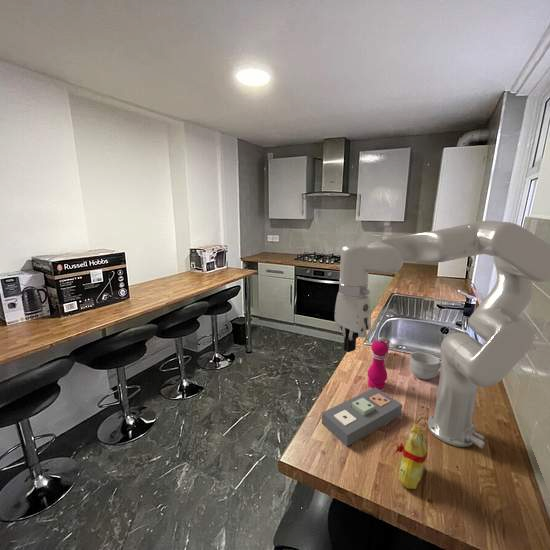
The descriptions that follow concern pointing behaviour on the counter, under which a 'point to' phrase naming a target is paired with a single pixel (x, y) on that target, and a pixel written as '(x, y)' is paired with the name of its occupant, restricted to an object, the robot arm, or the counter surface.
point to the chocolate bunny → (412, 458)
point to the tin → (386, 343)
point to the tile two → (363, 407)
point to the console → (360, 417)
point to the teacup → (424, 365)
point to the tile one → (344, 418)
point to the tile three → (379, 400)
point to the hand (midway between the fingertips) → (349, 350)
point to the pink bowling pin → (378, 365)
